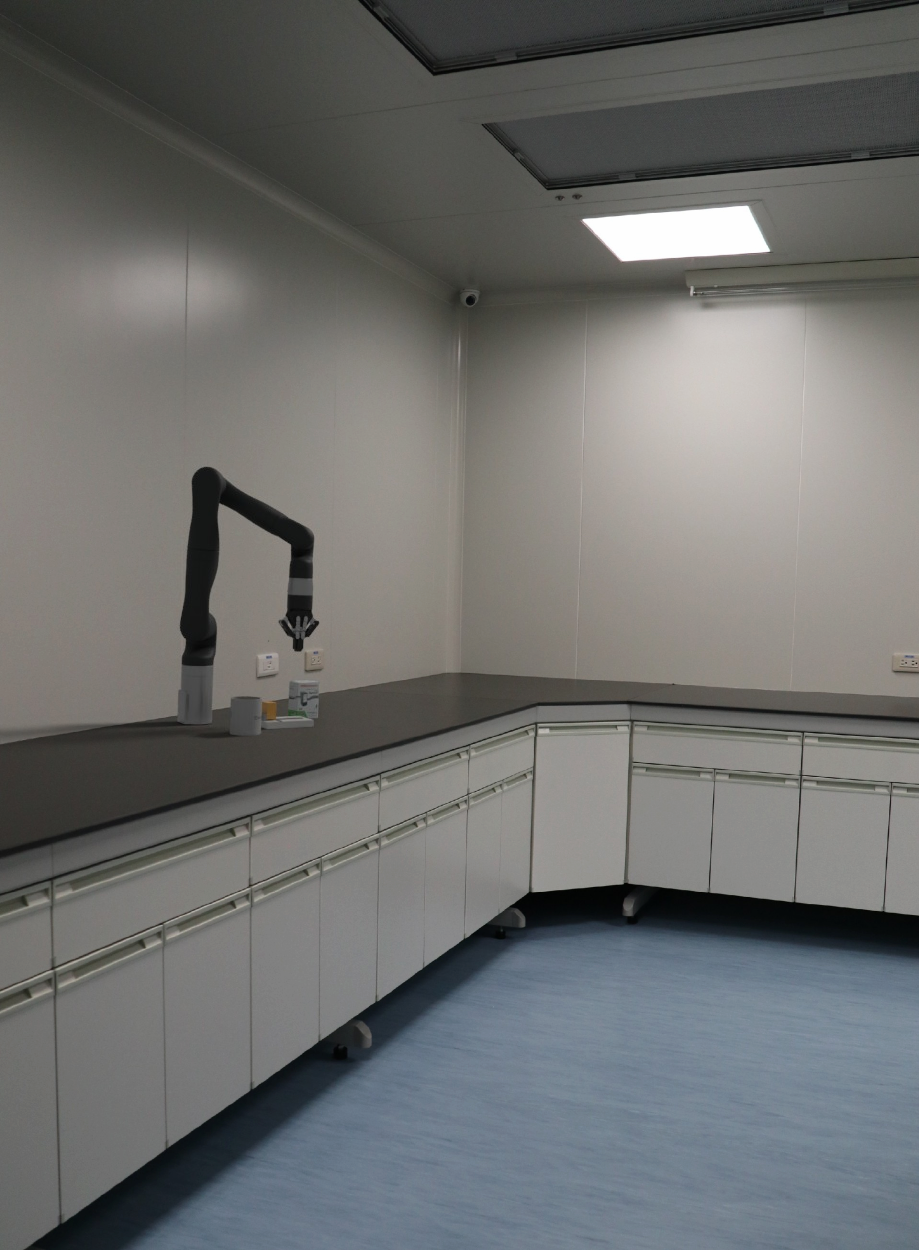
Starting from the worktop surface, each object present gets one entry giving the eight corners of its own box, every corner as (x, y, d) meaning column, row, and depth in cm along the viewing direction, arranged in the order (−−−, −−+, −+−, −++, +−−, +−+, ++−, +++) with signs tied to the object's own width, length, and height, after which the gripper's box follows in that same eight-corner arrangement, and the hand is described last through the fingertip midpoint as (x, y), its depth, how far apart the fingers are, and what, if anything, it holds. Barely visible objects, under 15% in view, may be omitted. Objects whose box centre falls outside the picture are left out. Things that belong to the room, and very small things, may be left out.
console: (267, 729, 303) (267, 715, 303) (253, 724, 311) (253, 711, 311) (313, 726, 311) (314, 713, 311) (298, 722, 320) (299, 709, 319)
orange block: (266, 719, 306) (267, 703, 306) (261, 717, 309) (261, 701, 309) (276, 719, 308) (276, 702, 307) (270, 717, 311) (271, 701, 311)
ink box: (296, 720, 325) (297, 682, 324) (287, 718, 328) (288, 680, 328) (318, 718, 331) (320, 681, 330) (309, 716, 334) (310, 679, 334)
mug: (250, 736, 288) (252, 700, 288) (223, 733, 291) (224, 698, 290) (272, 731, 300) (274, 696, 299) (246, 728, 302) (247, 694, 302)
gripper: (285, 593, 305) (282, 652, 306) (325, 594, 313) (323, 652, 313) (274, 592, 311) (272, 650, 312) (314, 593, 319) (312, 650, 320)
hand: (297, 651), depth 313 cm, fingers closed
